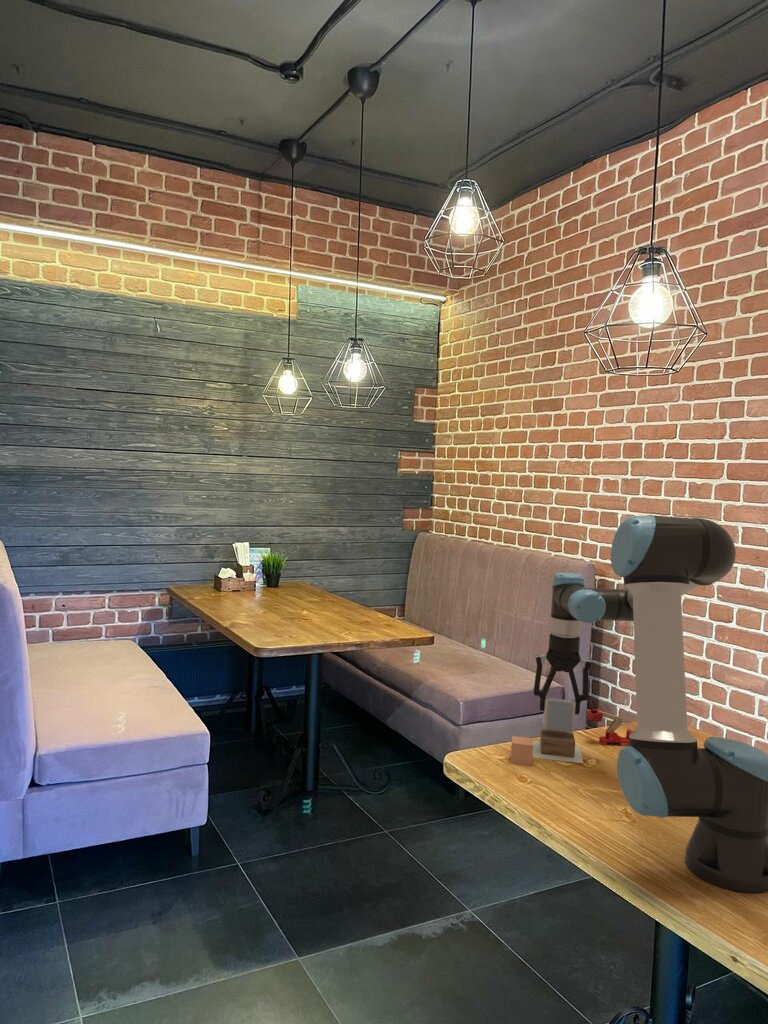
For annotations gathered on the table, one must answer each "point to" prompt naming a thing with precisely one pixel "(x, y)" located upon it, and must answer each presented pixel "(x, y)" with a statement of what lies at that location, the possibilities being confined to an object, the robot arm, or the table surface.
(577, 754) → the plate
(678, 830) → the table surface
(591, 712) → the toy fire truck
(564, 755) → the walnut base
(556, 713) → the slate brick
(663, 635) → the robot arm
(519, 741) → the terracotta brick
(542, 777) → the table surface
